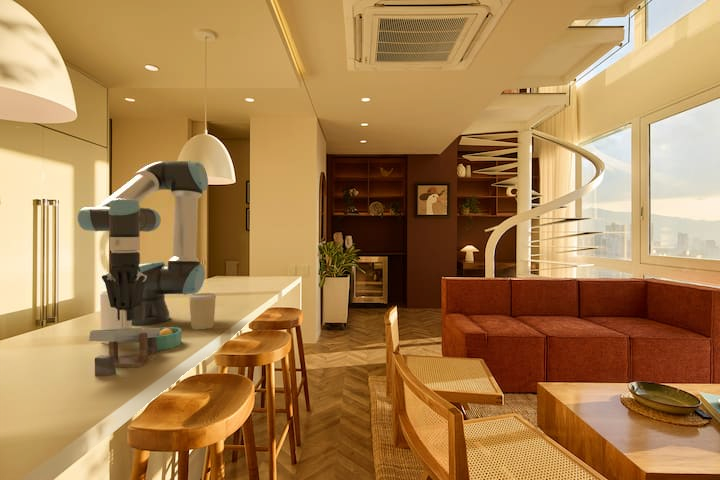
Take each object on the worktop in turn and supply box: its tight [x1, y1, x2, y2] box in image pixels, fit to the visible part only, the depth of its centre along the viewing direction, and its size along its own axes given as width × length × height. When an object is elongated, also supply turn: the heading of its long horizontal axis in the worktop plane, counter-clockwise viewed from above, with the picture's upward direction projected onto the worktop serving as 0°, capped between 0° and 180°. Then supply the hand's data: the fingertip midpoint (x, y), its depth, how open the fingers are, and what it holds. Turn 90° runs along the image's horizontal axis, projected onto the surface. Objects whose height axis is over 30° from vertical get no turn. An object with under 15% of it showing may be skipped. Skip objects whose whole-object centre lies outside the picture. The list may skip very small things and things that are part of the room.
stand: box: [94, 333, 157, 377], centre depth 103 cm, size 19×11×8 cm, turn 176°
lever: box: [88, 327, 161, 344], centre depth 103 cm, size 20×11×4 cm, turn 176°
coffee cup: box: [188, 292, 217, 330], centre depth 140 cm, size 9×9×12 cm
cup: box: [99, 290, 121, 345], centre depth 123 cm, size 8×8×16 cm
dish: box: [156, 326, 182, 351], centre depth 118 cm, size 11×11×4 cm
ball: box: [159, 328, 173, 336], centre depth 120 cm, size 4×4×4 cm
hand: (125, 331), depth 110 cm, fingers closed
